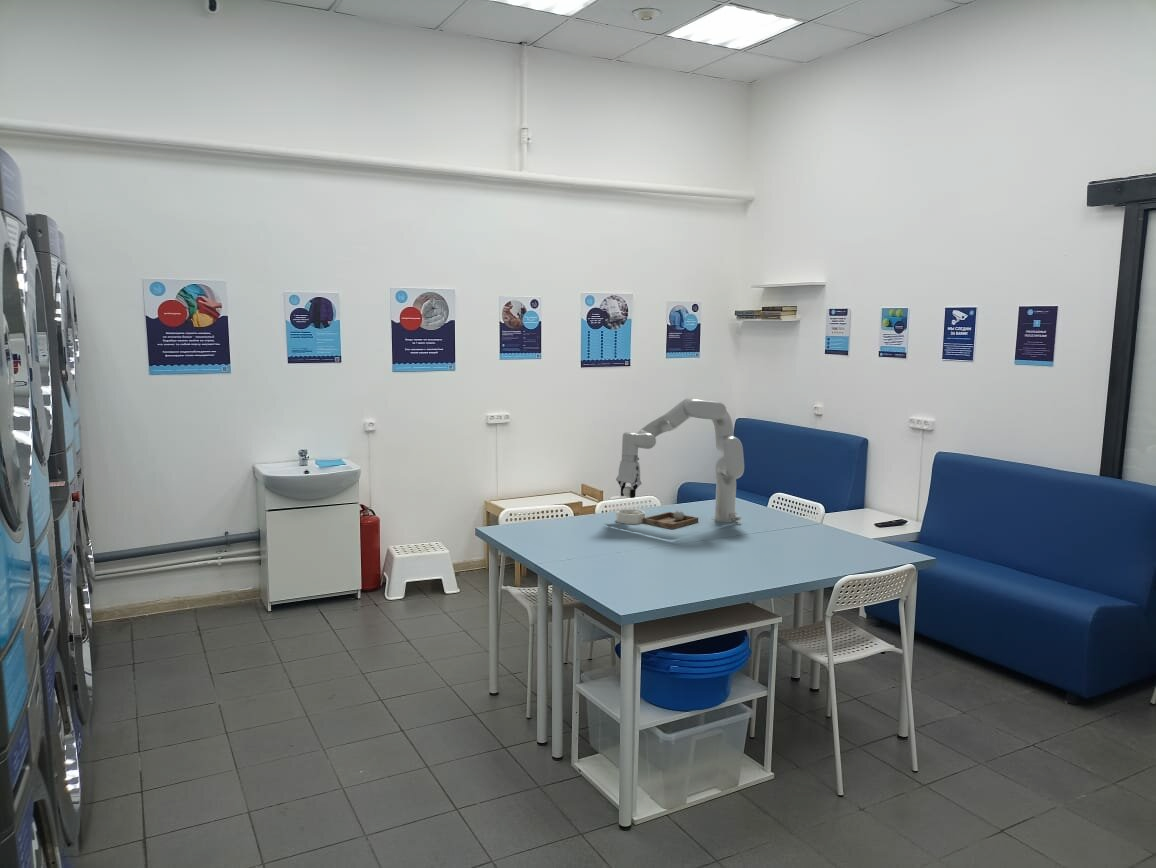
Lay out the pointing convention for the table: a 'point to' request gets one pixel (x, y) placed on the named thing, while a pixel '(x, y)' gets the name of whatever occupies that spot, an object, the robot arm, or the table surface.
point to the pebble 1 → (627, 491)
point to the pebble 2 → (678, 515)
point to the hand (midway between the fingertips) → (627, 496)
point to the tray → (669, 520)
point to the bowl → (629, 516)
